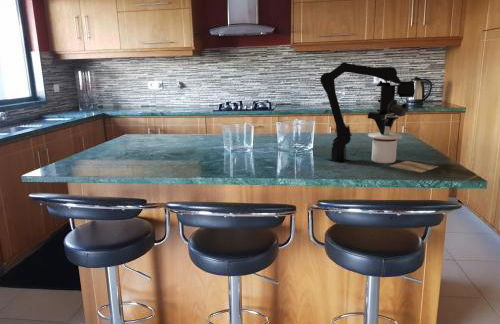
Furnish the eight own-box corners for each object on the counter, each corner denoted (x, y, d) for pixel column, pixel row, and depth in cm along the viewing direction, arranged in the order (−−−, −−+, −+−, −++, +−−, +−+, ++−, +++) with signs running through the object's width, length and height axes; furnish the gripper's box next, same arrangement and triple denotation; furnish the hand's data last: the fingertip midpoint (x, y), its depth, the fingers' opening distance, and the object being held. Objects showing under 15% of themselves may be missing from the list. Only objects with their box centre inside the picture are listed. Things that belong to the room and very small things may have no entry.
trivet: (420, 174, 151) (420, 172, 151) (388, 167, 162) (388, 166, 161) (438, 168, 159) (438, 166, 159) (406, 162, 170) (406, 160, 170)
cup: (369, 163, 169) (370, 140, 167) (373, 158, 178) (375, 136, 175) (393, 165, 165) (395, 142, 162) (397, 160, 173) (398, 138, 171)
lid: (390, 140, 159) (390, 130, 158) (361, 136, 170) (361, 126, 169) (408, 136, 167) (409, 126, 166) (380, 132, 178) (380, 123, 177)
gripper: (392, 99, 153) (389, 139, 156) (417, 97, 164) (414, 133, 168) (367, 98, 161) (365, 135, 165) (393, 95, 172) (390, 130, 176)
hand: (384, 133), depth 168 cm, fingers closed on lid, 4 cm apart
